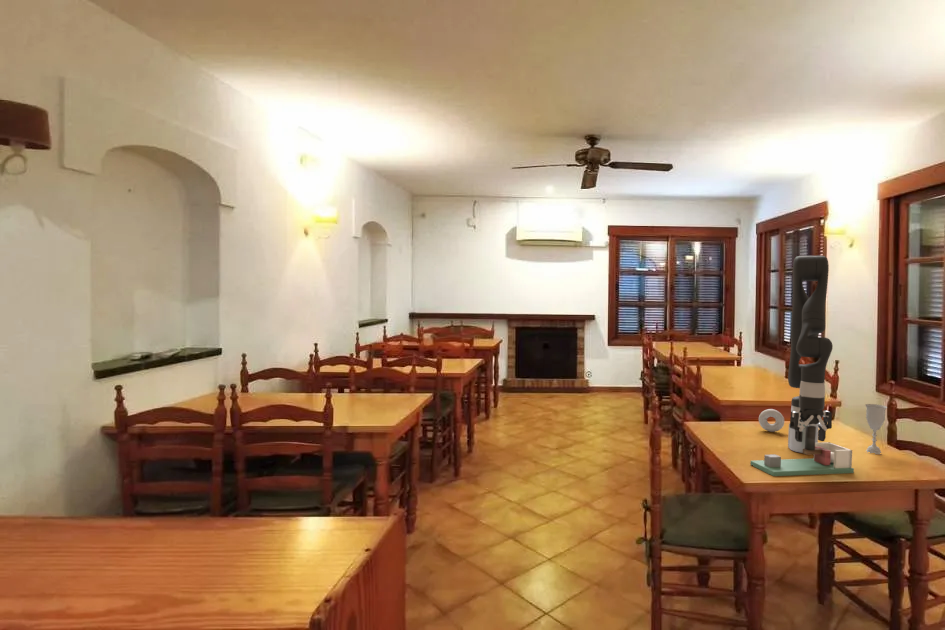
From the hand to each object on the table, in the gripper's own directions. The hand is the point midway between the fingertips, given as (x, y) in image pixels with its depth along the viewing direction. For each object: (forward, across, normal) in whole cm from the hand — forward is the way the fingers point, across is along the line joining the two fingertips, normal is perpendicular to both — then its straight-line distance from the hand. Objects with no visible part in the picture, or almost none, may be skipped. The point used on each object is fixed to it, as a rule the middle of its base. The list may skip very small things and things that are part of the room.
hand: (810, 441), depth 195 cm
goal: (+8, -9, 0) cm, 12 cm away
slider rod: (+8, -2, 0) cm, 8 cm away
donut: (+10, -21, -48) cm, 53 cm away
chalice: (+10, -40, -15) cm, 44 cm away
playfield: (+10, +3, 0) cm, 10 cm away
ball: (+6, -9, 0) cm, 11 cm away
